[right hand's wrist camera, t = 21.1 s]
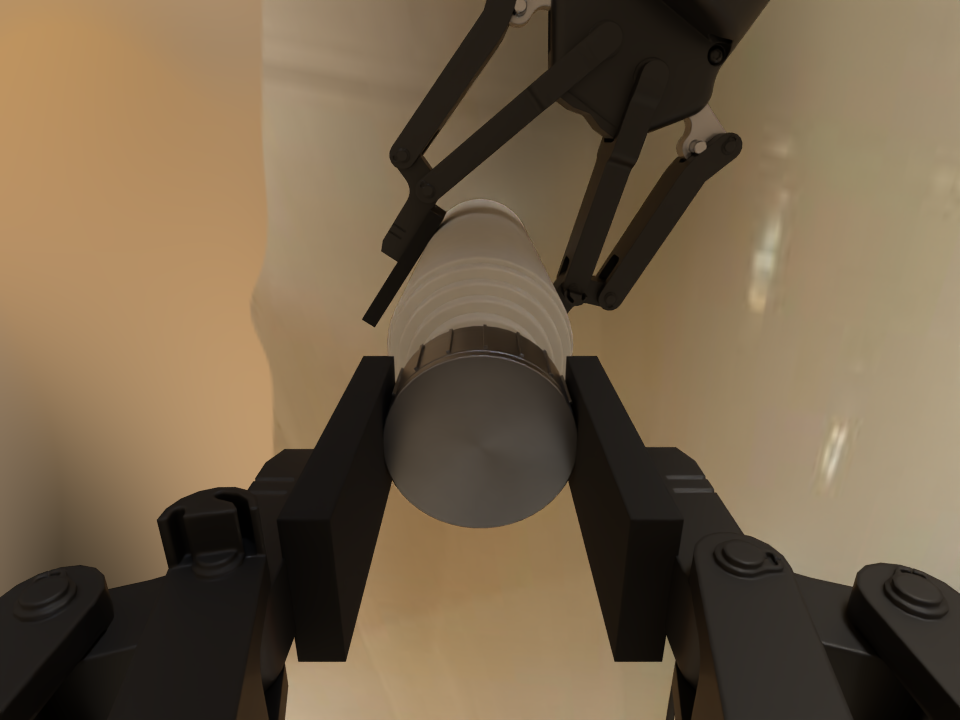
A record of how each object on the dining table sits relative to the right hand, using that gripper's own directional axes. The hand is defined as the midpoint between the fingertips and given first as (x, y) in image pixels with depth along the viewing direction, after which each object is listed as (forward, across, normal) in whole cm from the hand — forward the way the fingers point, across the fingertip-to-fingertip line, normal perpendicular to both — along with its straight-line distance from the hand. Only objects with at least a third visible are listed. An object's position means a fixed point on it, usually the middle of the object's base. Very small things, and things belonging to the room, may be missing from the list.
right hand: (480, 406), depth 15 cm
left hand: (+16, -3, -4) cm, 17 cm away
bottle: (+22, 0, 0) cm, 22 cm away
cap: (-2, 0, 0) cm, 2 cm away
